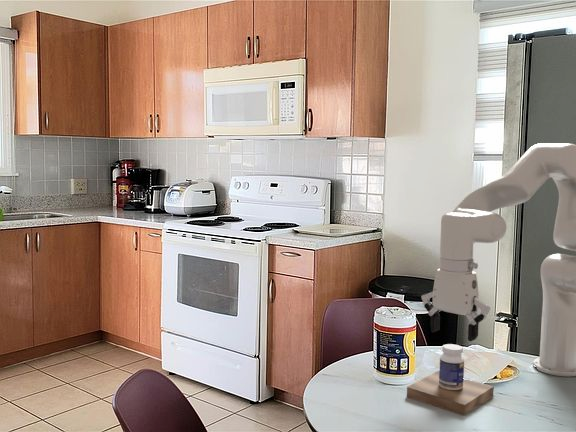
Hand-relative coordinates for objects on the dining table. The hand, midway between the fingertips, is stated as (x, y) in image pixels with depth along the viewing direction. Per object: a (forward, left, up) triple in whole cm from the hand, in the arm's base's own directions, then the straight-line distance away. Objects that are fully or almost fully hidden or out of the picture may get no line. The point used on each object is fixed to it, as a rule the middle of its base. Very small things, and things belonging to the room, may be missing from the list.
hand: (453, 335), depth 151 cm
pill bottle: (0, 0, -13) cm, 13 cm away
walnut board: (0, 0, -15) cm, 15 cm away
